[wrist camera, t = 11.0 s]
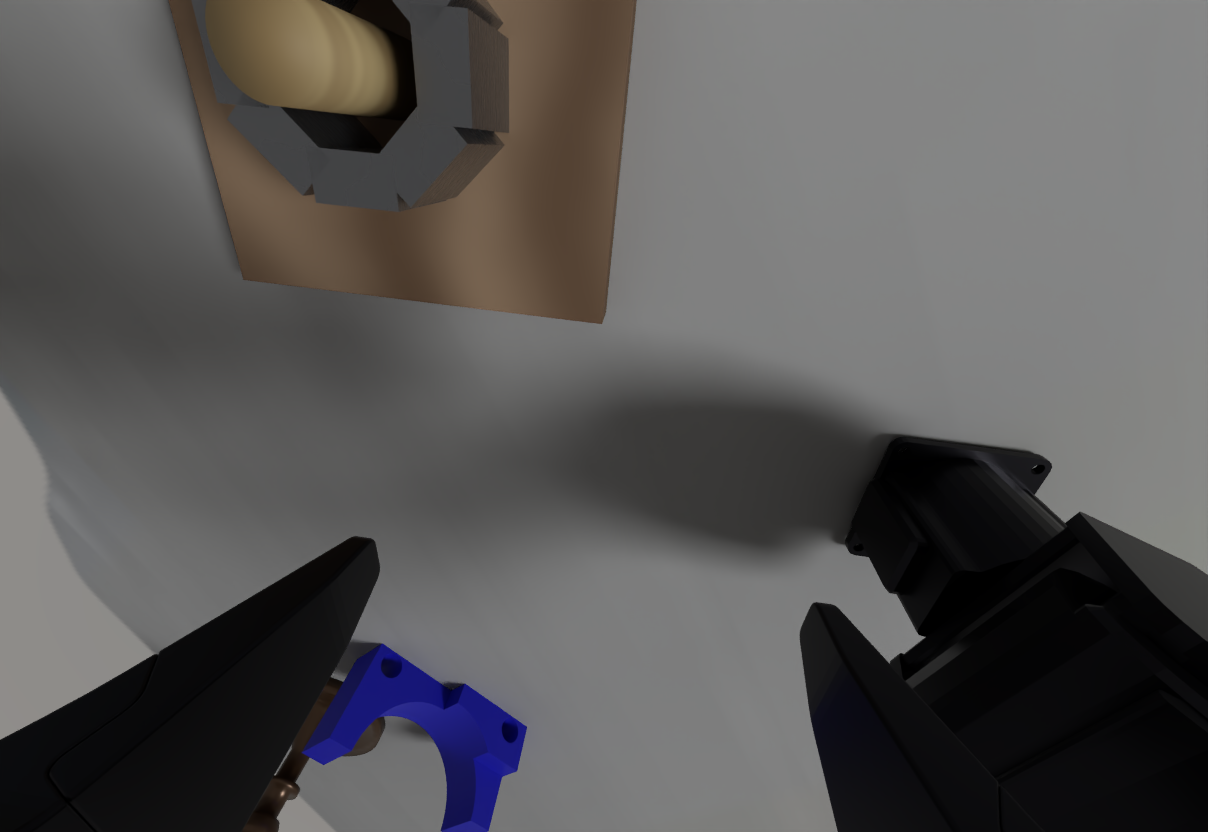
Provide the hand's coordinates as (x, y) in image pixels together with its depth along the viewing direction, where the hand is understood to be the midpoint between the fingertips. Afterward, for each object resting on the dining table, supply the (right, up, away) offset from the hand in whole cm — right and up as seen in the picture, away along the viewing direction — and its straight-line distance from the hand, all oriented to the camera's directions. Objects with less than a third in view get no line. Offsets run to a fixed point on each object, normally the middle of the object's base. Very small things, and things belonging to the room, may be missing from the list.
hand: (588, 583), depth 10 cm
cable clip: (-11, -16, +24) cm, 31 cm away
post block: (-6, +15, +6) cm, 17 cm away
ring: (-6, +14, +5) cm, 16 cm away
